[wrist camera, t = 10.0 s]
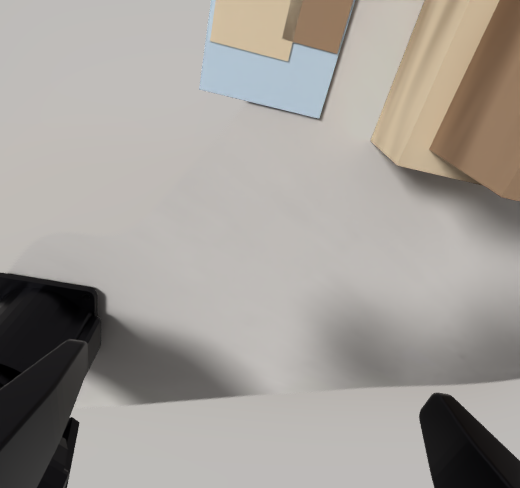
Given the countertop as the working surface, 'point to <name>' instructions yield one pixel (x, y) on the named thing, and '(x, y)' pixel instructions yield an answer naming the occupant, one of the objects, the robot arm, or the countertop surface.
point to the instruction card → (274, 51)
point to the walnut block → (488, 109)
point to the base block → (430, 83)
